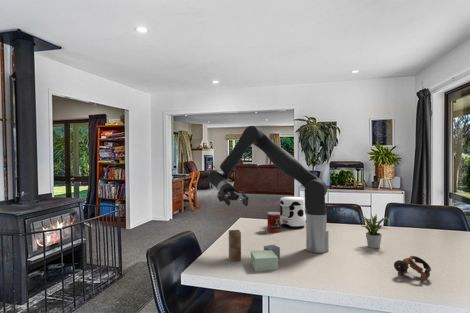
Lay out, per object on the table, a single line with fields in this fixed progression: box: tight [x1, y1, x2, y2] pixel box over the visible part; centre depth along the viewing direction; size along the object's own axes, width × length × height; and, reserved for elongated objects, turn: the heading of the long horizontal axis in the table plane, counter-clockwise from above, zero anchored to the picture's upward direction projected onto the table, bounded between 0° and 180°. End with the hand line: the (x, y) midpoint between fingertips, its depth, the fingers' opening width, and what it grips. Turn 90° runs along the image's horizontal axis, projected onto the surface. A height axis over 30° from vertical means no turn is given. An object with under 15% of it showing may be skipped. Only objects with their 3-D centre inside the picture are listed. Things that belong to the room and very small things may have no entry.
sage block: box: [250, 249, 279, 272], centre depth 113 cm, size 9×9×5 cm
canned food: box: [266, 211, 281, 234], centre depth 168 cm, size 8×8×11 cm
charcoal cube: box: [263, 244, 281, 260], centre depth 122 cm, size 5×5×5 cm
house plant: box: [360, 213, 388, 249], centre depth 136 cm, size 14×14×16 cm
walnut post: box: [228, 229, 242, 262], centre depth 121 cm, size 4×4×12 cm
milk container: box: [279, 196, 306, 229], centre depth 181 cm, size 17×17×18 cm
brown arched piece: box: [393, 255, 432, 283], centre depth 102 cm, size 12×10×8 cm
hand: (238, 203), depth 126 cm, fingers open, 8 cm apart
